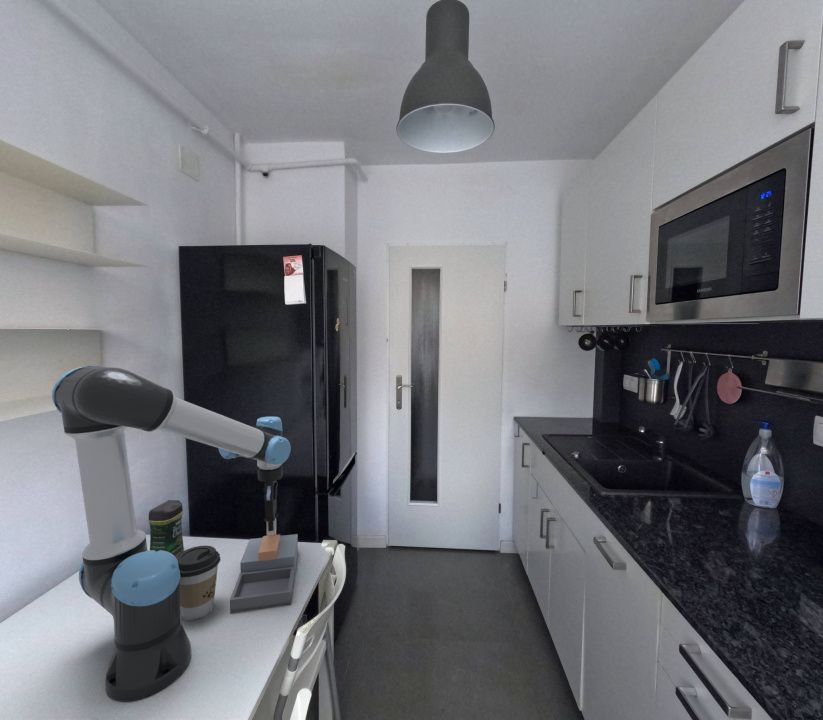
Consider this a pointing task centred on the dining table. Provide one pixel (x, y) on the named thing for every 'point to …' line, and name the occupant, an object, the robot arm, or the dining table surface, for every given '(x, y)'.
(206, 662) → the dining table surface
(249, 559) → the blue-grey square block
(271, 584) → the box
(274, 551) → the tile front
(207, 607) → the coffee cup
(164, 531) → the coffee jar
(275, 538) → the tile rear
